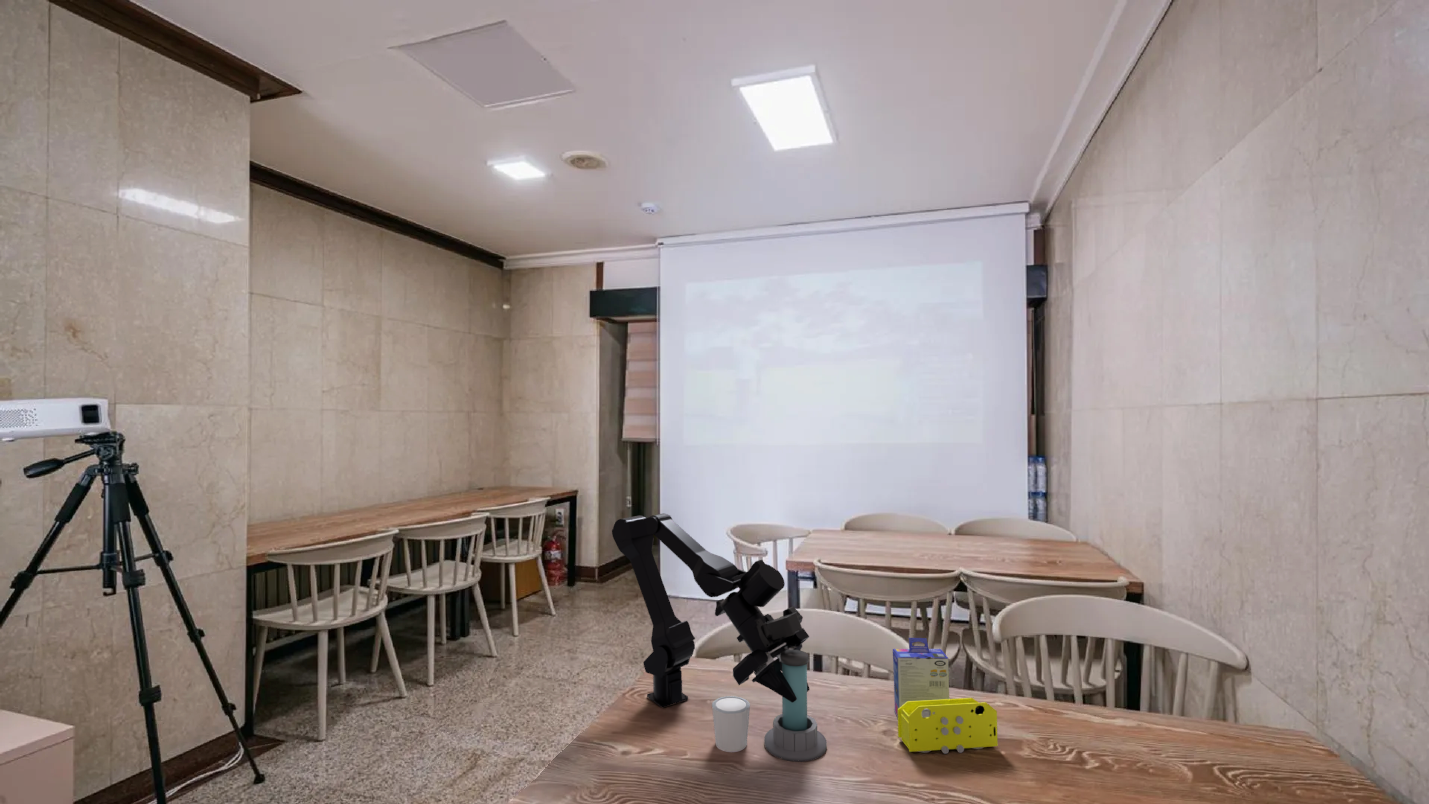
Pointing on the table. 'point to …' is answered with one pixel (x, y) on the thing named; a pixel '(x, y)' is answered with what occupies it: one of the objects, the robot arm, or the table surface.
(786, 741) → the ring mount
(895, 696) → the ink cartridge box
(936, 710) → the yellow toy chassis
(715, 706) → the shot glass
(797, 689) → the teal capped cylinder
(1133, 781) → the table surface
